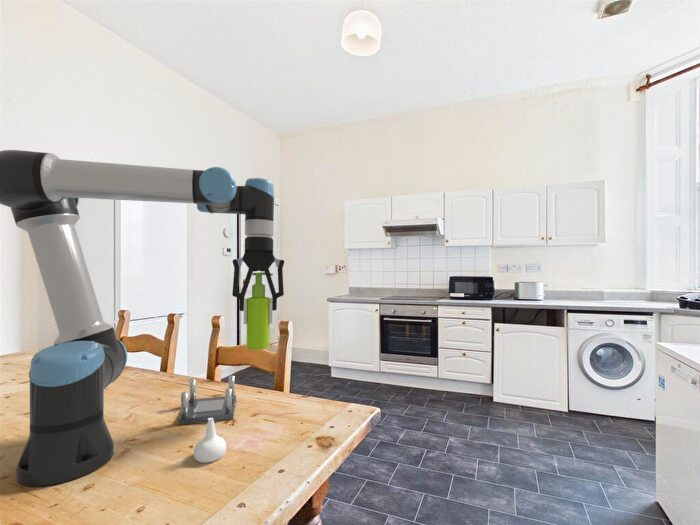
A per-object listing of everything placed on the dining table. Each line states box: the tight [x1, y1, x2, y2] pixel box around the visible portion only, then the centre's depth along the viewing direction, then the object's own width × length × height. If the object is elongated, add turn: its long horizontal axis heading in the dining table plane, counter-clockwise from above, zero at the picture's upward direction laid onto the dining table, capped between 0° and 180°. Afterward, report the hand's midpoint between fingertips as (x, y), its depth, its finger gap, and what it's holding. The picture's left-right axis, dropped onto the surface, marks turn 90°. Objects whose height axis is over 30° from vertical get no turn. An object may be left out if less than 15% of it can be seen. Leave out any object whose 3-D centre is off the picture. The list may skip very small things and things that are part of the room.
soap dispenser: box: [246, 271, 274, 350], centre depth 97 cm, size 6×7×20 cm
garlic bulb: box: [193, 418, 227, 464], centre depth 75 cm, size 6×6×8 cm
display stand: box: [177, 375, 237, 426], centre depth 98 cm, size 14×13×8 cm
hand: (258, 322), depth 97 cm, fingers closed on soap dispenser, 6 cm apart
